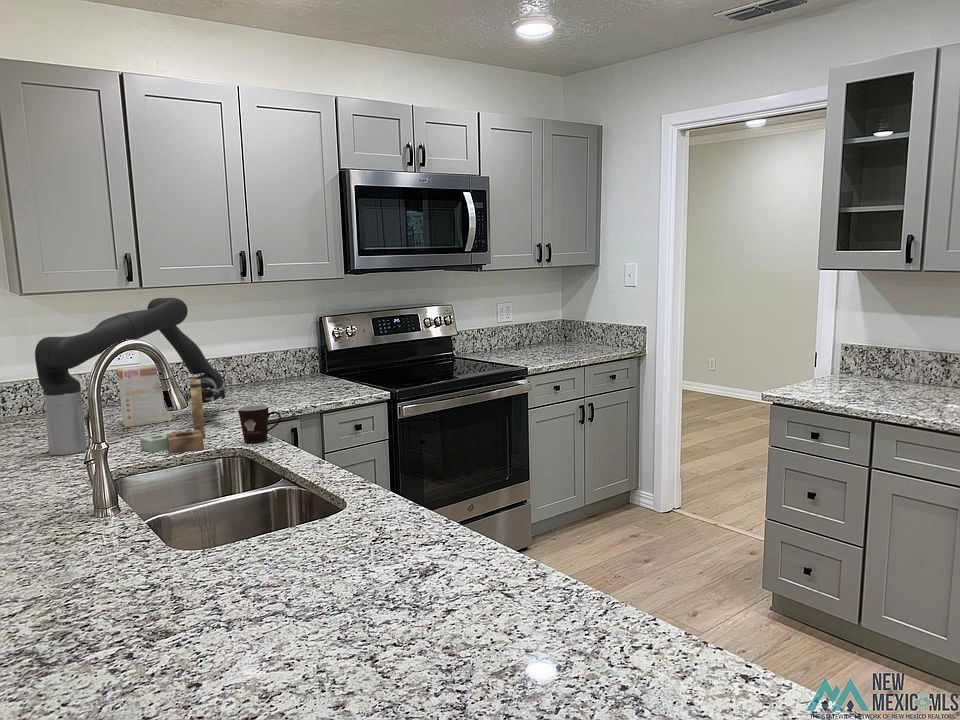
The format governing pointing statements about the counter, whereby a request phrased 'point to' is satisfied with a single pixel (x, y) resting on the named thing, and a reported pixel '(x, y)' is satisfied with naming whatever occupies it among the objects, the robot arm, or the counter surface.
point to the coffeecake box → (141, 396)
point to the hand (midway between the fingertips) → (200, 398)
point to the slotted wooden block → (185, 441)
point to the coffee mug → (255, 423)
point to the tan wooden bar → (197, 405)
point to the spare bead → (154, 443)
